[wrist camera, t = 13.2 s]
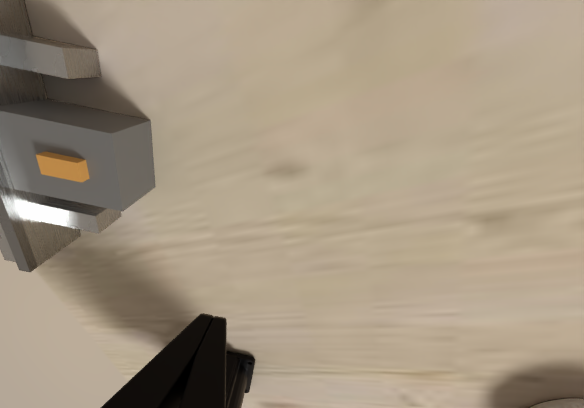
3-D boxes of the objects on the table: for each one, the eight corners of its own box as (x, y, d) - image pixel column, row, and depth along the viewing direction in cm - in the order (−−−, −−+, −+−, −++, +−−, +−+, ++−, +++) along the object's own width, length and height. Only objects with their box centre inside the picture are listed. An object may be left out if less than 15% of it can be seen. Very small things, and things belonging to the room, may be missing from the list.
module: (156, 185, 21) (116, 216, 17) (66, 167, 21) (4, 193, 17) (152, 119, 18) (103, 136, 14) (50, 98, 18) (-27, 109, 14)
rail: (125, 245, 23) (84, 283, 19) (52, 230, 23) (-4, 265, 19) (88, -13, 15) (0, -40, 11) (-28, -37, 15) (-158, -73, 11)
